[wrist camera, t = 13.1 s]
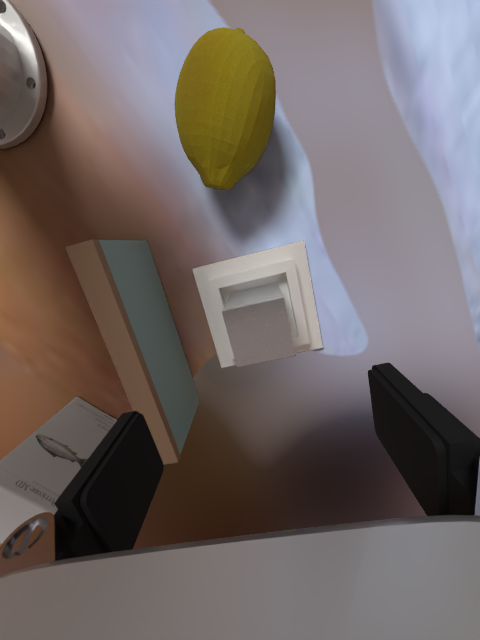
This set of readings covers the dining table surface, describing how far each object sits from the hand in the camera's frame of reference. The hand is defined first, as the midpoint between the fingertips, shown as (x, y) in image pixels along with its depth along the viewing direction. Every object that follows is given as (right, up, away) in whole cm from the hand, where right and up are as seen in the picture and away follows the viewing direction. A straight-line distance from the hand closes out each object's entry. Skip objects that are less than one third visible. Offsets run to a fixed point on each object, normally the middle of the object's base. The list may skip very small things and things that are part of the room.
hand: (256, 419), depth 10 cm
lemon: (-2, +21, +14) cm, 26 cm away
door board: (-9, +3, +20) cm, 22 cm away
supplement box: (-21, -11, +25) cm, 34 cm away
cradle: (+2, +5, +19) cm, 19 cm away
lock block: (+1, +5, +18) cm, 19 cm away
